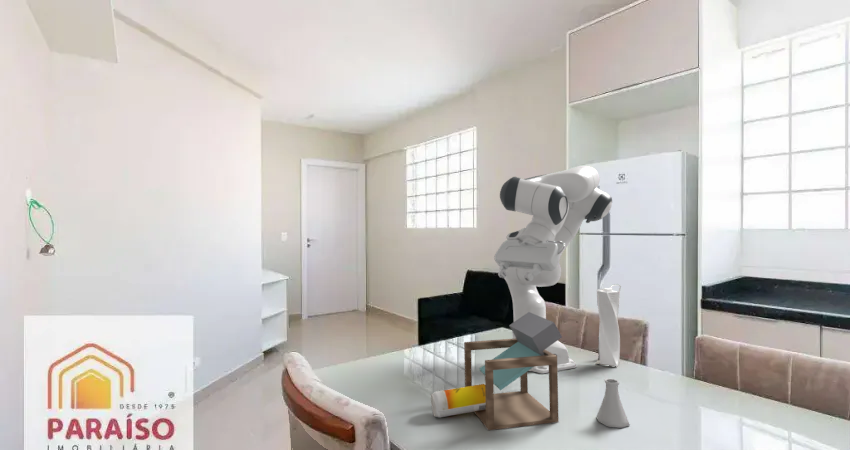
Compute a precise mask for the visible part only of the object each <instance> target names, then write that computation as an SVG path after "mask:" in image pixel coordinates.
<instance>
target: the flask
mask: <svg viewBox="0 0 850 450" xmlns="http://www.w3.org/2000/svg"><path fill="white" fill-rule="evenodd" d="M604 382H605V392H604V396H603V399H602V401H601V404H600V407H599V409H598V411H597V414H596V419H597V421H598V422H599V423H601V424H603V425H604V426H606V427H609V428H618V429H619V428H625V427H629V426H630V425H631V424H630V422H629V419H628V416H627V414H626V412H625V409H624V406H623V403H622V401H621V399H620V398H621V397H620V394H619V385H620V382H619V380H617V379H615V378H605V379H604Z"/></svg>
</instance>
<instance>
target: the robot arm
mask: <svg viewBox="0 0 850 450" xmlns="http://www.w3.org/2000/svg"><path fill="white" fill-rule="evenodd" d="M600 178H601V177H600V174H599V172H598V170H597V169H596V168H594V167H592V166H589V165H577V166H572V167H571V168H570V167H569V168H568V169H564V170H559V171H555V172H551V173H548V174H547V173H546V174H540V175H536V176H532V177H527V178H521V177H517V176H512V177H510V178H509V179H507V180H506V182H504V183H503V184H502V186H501V189H500V191H499V198H500V199H499V200H500V202H501V205H502V206H503V208H505V210H506V211H511V212H518V213H520V214H521V213H522V214H526V215H530V216H532V218H531V221H530V222H529V223H528V224H527V225H526V227H524V228H521V229H519V230H516V231H512V232H510V233H508V234H507V236H506V238H505V239H506V240H505V241H503V242H502V243H501V245H500V246H499V248H497V250H496V252H495V254H494V257H493V258H494V261H495V263H496V264H497V265H498V266H499V267H498V268H499V271H498V274H497V275H498V277H499V278H501V279H504V280H505V283H506V284H507V286H508V289H509V292H510V295H511V300H512V310H513V314H512V315H513V322H515V321H516V320H518V319H519V318H521V317H522V316H524V315H525V314H527V313H528V312H530V313H533V314H535V315H537V316H540V317H542V318H545V319H547V314H546V313H547V312H546V311H547V309H546V302H545V300H544V298H543V297H542V296H541V295H540V293H539V291H538V289H537V287H539V288H540V287H541V288H542V287H551V286H554V285H556V284H557V283H558V282H559V281H560V279H561V275H562V266H561V263H560V260H561V256H562V254H563V253H564V252H565V250H566V249H567V248H568V246H569V245H570V244H571V242H572V241H573V240H574V238H575V237H576V235H577V234H578V232H579V229H580V227H581V226H582V224H583V222H584V221H585V223H586V224H590V222H596V221H597V222H598V221H600V220H602V219H603V218H604V217H606V216H607V215H608V214H609V213H610V211H611V208H612V203H613V197H612V196H611V195H610V194H608V193H607V192H606V191H602V190H601V189H599V188H598V186H599V184H600ZM511 334H512V339H515V338H516V337H515V335H514V333H513V331H512V330H511ZM545 350H547V351H549V352H550V353H552V354H554V355H556V356H557V372H559V371H565V370H570V369H574V368H577V362H575V361H574V360H573V359H572V358H570V355H569V351H568V348H567V346H565V344H564V343H562V342H560V341H559V340H557V341H556V342H555V343H553V344H552V345H550V346H549V347H548V348H546V349H545ZM528 372H534V373H539V374H549V365H546V366H534V367H533V368H531V369H530V370H529V371H528Z"/></svg>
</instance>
